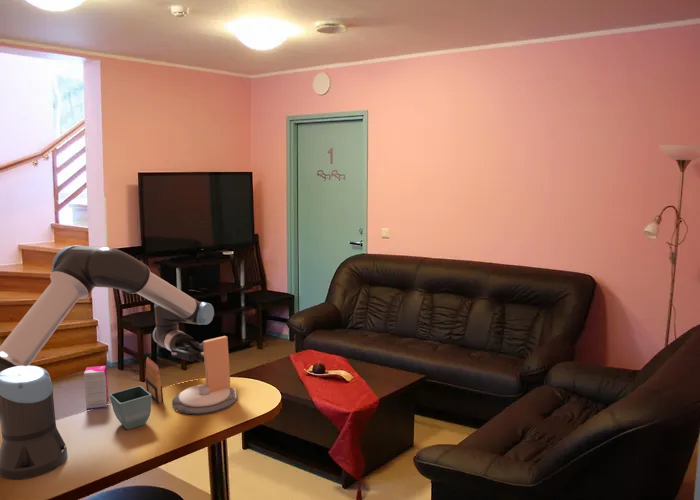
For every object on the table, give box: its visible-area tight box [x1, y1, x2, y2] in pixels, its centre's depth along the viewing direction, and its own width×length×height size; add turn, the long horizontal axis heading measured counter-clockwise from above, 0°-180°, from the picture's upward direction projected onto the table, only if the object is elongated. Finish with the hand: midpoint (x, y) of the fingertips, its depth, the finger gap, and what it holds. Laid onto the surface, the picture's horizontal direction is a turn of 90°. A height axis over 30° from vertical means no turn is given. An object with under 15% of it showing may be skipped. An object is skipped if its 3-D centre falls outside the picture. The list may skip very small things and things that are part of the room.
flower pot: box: [109, 385, 152, 430], centre depth 166 cm, size 9×9×9 cm
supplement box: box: [83, 365, 110, 411], centre depth 179 cm, size 6×6×12 cm
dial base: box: [171, 386, 238, 416], centre depth 181 cm, size 19×19×4 cm
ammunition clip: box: [145, 356, 164, 405], centre depth 184 cm, size 11×2×12 cm, turn 35°
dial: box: [178, 335, 231, 407], centre depth 180 cm, size 16×15×17 cm
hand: (212, 361), depth 185 cm, fingers closed
